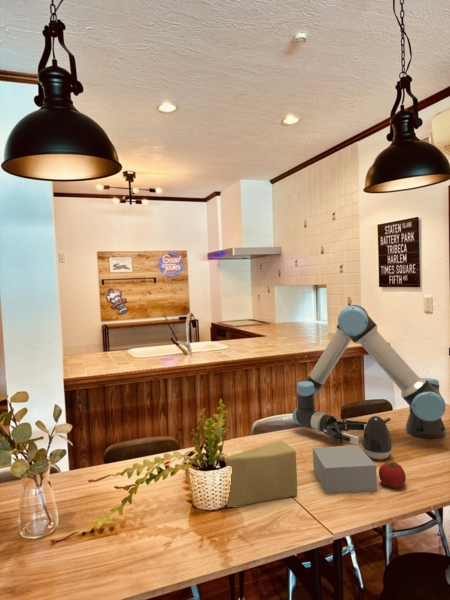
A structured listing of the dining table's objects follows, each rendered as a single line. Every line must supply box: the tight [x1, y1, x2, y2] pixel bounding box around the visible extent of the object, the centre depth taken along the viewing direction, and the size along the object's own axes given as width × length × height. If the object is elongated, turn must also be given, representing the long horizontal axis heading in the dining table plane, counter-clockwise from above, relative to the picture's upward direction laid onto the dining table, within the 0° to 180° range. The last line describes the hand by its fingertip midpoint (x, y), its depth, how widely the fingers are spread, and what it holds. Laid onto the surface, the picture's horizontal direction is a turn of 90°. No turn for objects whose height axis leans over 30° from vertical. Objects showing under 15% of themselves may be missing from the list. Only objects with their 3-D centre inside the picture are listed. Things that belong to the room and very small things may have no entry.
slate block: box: [312, 444, 378, 495], centre depth 130 cm, size 16×16×8 cm
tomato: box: [378, 461, 407, 489], centre depth 125 cm, size 8×8×7 cm
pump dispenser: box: [362, 415, 393, 461], centre depth 146 cm, size 10×10×15 cm
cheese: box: [225, 440, 298, 508], centre depth 121 cm, size 22×10×15 cm, turn 113°
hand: (369, 436), depth 148 cm, fingers open, 13 cm apart
